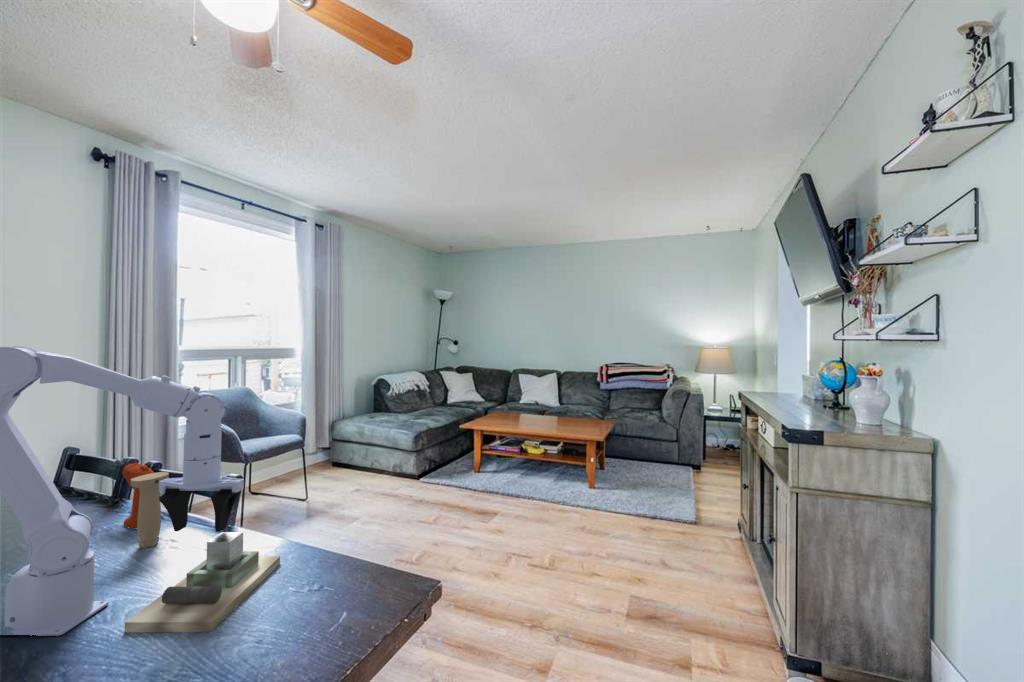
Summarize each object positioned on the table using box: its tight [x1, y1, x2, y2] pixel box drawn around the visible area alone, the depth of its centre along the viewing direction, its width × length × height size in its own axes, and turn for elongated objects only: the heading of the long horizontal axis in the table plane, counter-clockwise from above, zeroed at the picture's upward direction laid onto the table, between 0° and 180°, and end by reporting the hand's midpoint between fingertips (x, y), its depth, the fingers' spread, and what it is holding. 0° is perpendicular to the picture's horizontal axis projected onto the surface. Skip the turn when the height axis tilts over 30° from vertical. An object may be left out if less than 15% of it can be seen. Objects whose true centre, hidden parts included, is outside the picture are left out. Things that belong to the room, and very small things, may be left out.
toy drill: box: [114, 459, 155, 529], centre depth 104 cm, size 5×19×15 cm, turn 62°
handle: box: [130, 471, 170, 549], centre depth 92 cm, size 5×6×15 cm
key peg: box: [206, 531, 244, 570], centre depth 77 cm, size 4×4×7 cm
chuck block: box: [124, 550, 281, 633], centre depth 74 cm, size 13×20×4 cm, turn 1°
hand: (200, 529), depth 79 cm, fingers open, 7 cm apart
